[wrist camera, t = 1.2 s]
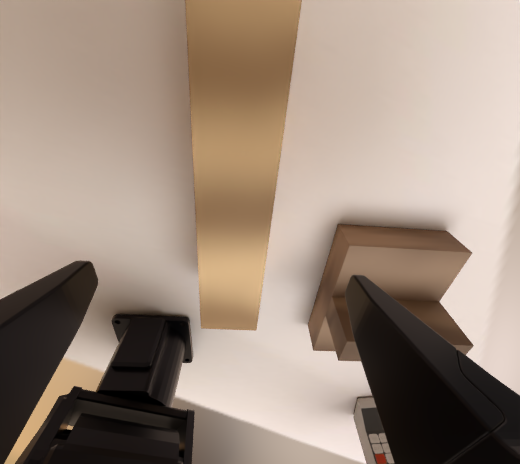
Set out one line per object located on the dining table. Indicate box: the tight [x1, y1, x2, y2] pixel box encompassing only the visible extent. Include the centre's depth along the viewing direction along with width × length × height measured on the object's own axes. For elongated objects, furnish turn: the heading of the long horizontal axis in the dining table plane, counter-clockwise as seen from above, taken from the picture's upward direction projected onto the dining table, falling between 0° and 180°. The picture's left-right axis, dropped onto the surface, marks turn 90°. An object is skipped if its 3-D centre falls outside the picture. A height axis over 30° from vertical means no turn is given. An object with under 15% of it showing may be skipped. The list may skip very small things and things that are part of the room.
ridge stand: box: [308, 224, 474, 361], centre depth 19 cm, size 11×8×6 cm
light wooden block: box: [185, 0, 302, 330], centre depth 14 cm, size 16×4×5 cm, turn 175°
